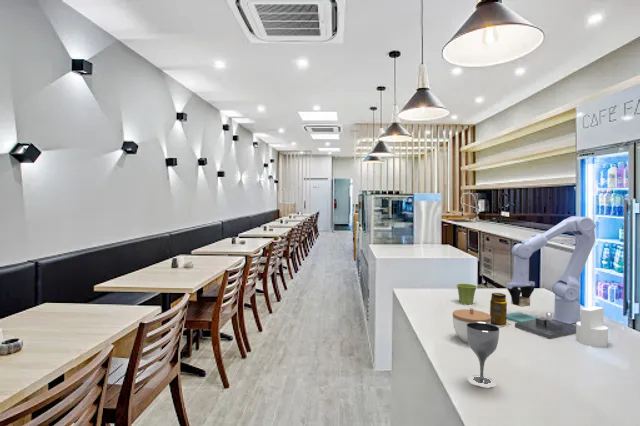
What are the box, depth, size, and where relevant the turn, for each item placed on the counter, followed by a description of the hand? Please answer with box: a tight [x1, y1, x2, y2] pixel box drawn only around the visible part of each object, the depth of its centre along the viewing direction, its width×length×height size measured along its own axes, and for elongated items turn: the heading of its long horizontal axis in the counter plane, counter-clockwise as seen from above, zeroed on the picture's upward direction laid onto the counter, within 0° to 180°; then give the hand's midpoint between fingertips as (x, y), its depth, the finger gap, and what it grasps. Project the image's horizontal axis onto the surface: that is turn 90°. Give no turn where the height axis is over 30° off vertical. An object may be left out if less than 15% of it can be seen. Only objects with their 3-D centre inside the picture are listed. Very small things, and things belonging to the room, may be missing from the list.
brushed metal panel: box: [514, 312, 576, 340], centre depth 143 cm, size 20×14×6 cm
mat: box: [506, 311, 537, 323], centre depth 157 cm, size 11×10×1 cm
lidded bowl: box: [452, 308, 491, 343], centre depth 131 cm, size 13×13×11 cm
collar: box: [510, 295, 531, 308], centre depth 157 cm, size 5×5×3 cm
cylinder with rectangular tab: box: [575, 305, 609, 348], centre depth 130 cm, size 9×9×12 cm
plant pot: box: [455, 283, 478, 305], centre depth 182 cm, size 9×9×9 cm
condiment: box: [489, 292, 511, 328], centre depth 150 cm, size 7×8×12 cm
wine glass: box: [467, 322, 500, 384], centre depth 99 cm, size 8×8×15 cm
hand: (520, 304), depth 157 cm, fingers closed on collar, 5 cm apart
